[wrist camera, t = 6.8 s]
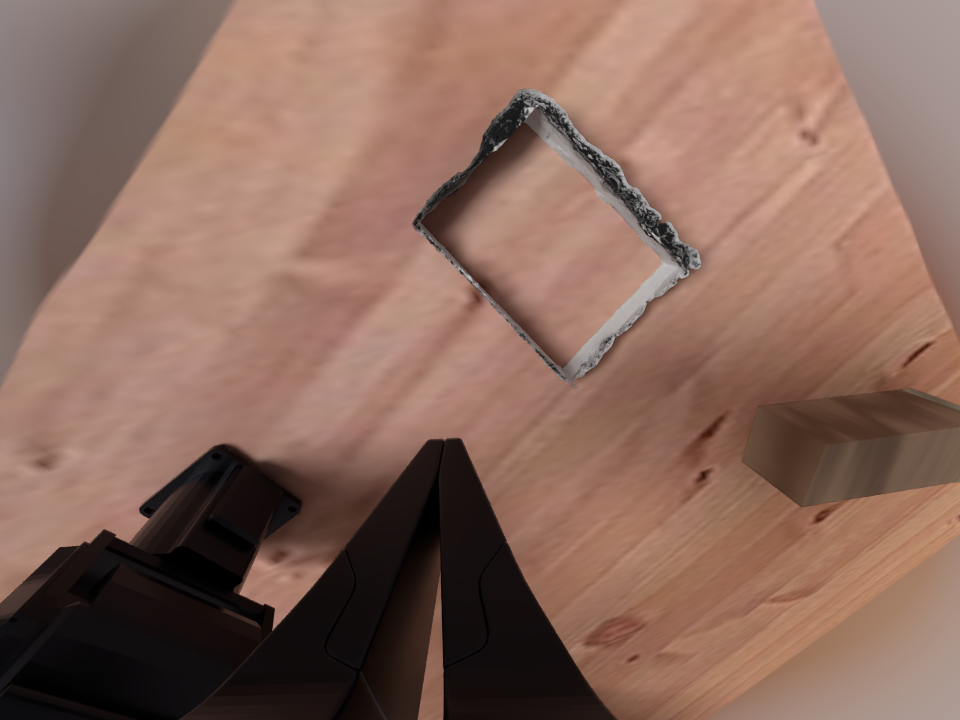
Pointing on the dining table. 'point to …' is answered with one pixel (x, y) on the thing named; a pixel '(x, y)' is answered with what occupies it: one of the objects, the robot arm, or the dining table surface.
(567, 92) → the dining table surface
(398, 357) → the dining table surface
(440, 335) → the dining table surface
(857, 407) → the grey-green metal block
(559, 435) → the dining table surface
